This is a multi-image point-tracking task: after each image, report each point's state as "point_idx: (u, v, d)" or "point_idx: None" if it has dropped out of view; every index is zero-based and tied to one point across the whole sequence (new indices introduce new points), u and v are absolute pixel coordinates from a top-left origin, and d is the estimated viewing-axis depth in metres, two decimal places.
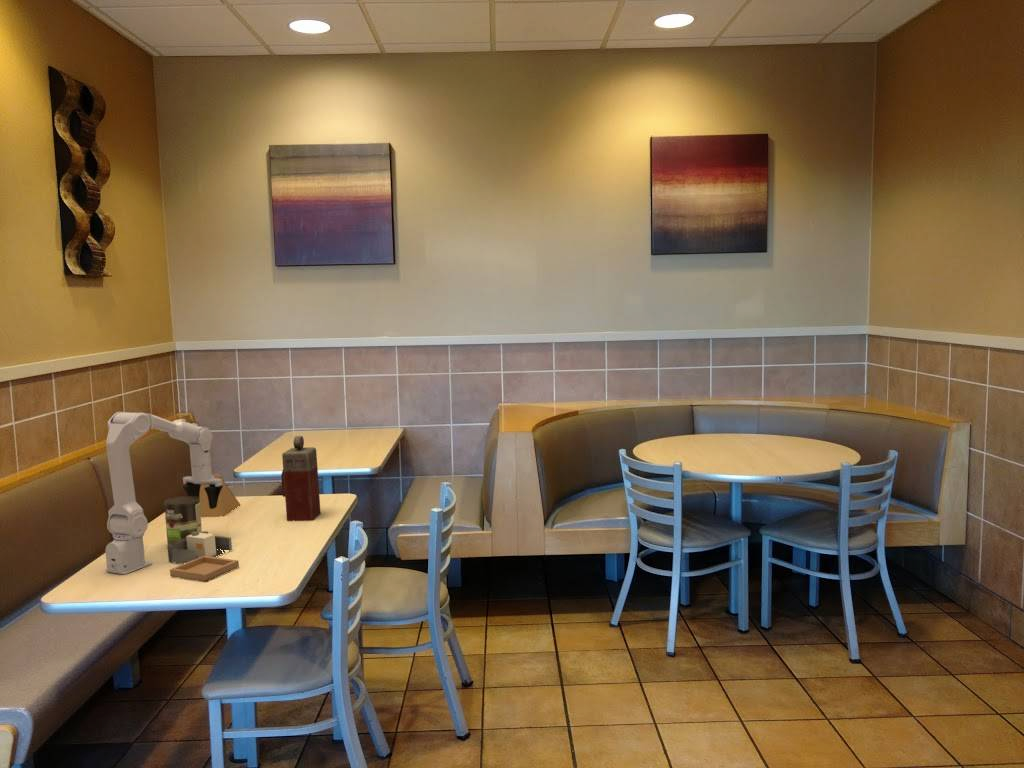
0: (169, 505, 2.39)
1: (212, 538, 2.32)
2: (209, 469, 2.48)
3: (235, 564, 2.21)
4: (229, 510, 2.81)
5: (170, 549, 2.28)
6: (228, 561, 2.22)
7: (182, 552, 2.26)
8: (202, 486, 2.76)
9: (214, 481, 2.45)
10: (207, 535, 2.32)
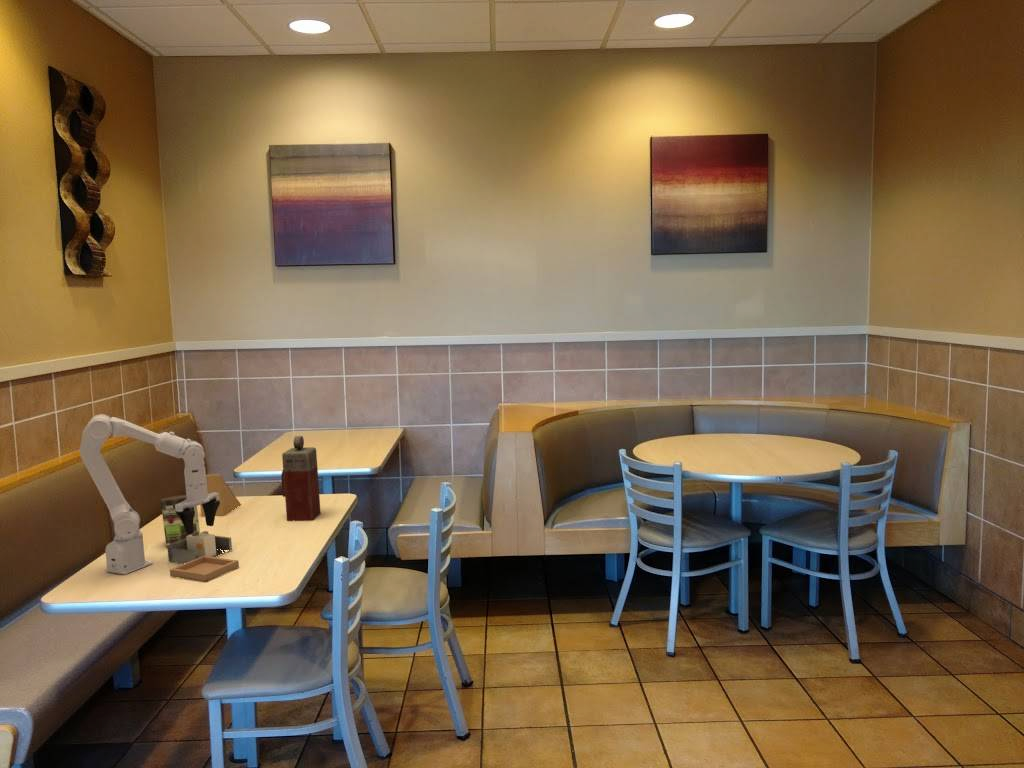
0: (168, 501, 2.41)
1: (212, 538, 2.32)
2: (190, 491, 2.28)
3: (235, 564, 2.21)
4: (230, 510, 2.81)
5: (170, 549, 2.28)
6: (228, 561, 2.22)
7: (182, 552, 2.26)
8: None
9: None
10: (207, 535, 2.32)
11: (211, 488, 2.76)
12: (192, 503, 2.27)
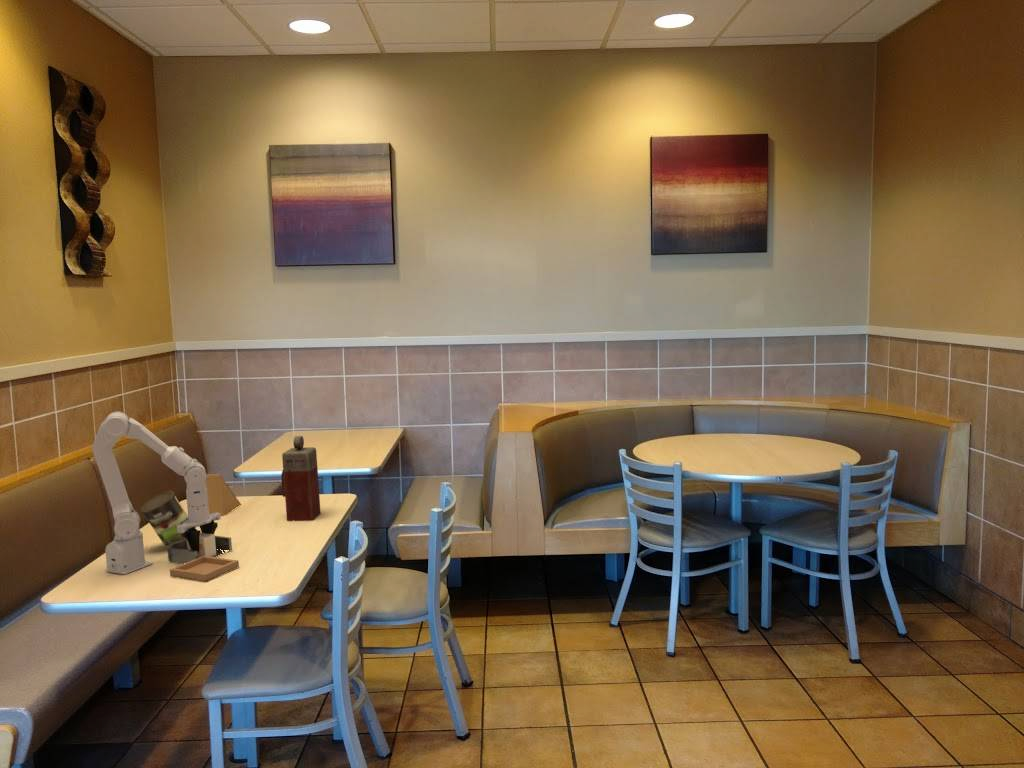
0: (154, 510, 2.35)
1: (212, 538, 2.32)
2: (192, 512, 2.29)
3: (235, 564, 2.21)
4: (230, 510, 2.82)
5: (170, 549, 2.28)
6: (228, 561, 2.22)
7: (182, 552, 2.26)
8: None
9: None
10: (207, 535, 2.32)
11: (211, 487, 2.76)
12: (194, 524, 2.28)
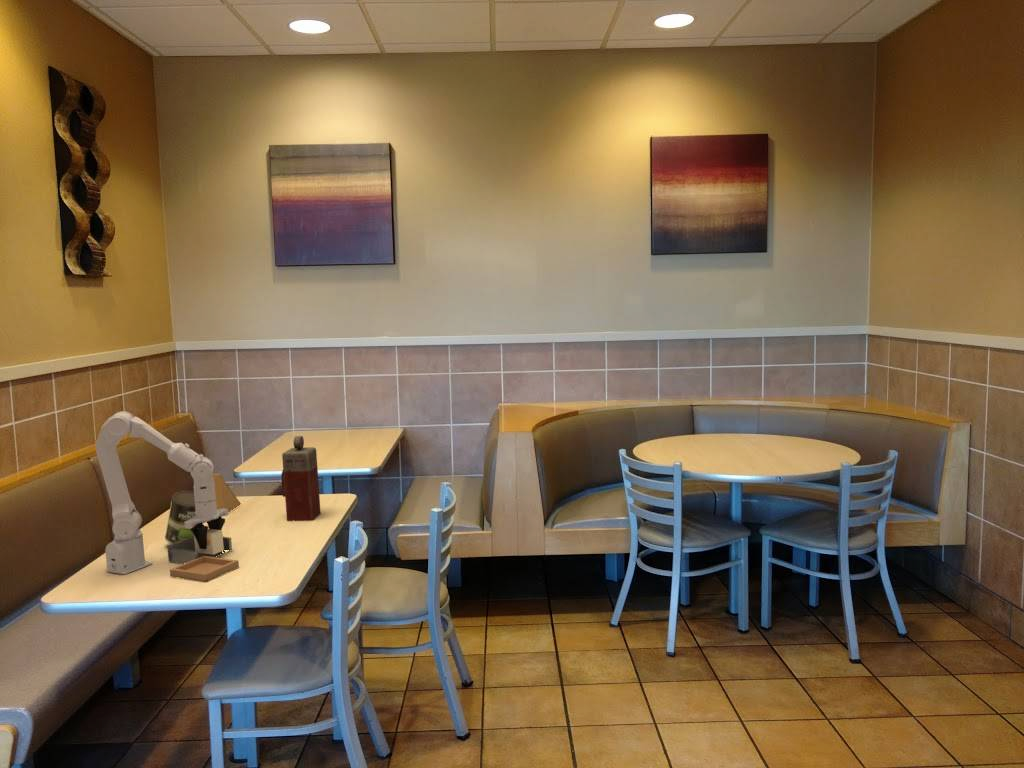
0: (193, 507, 2.38)
1: (220, 534, 2.30)
2: (200, 508, 2.27)
3: (235, 564, 2.21)
4: (230, 509, 2.82)
5: (170, 549, 2.28)
6: (228, 561, 2.22)
7: (182, 552, 2.26)
8: None
9: None
10: (214, 531, 2.31)
11: None
12: (201, 520, 2.26)
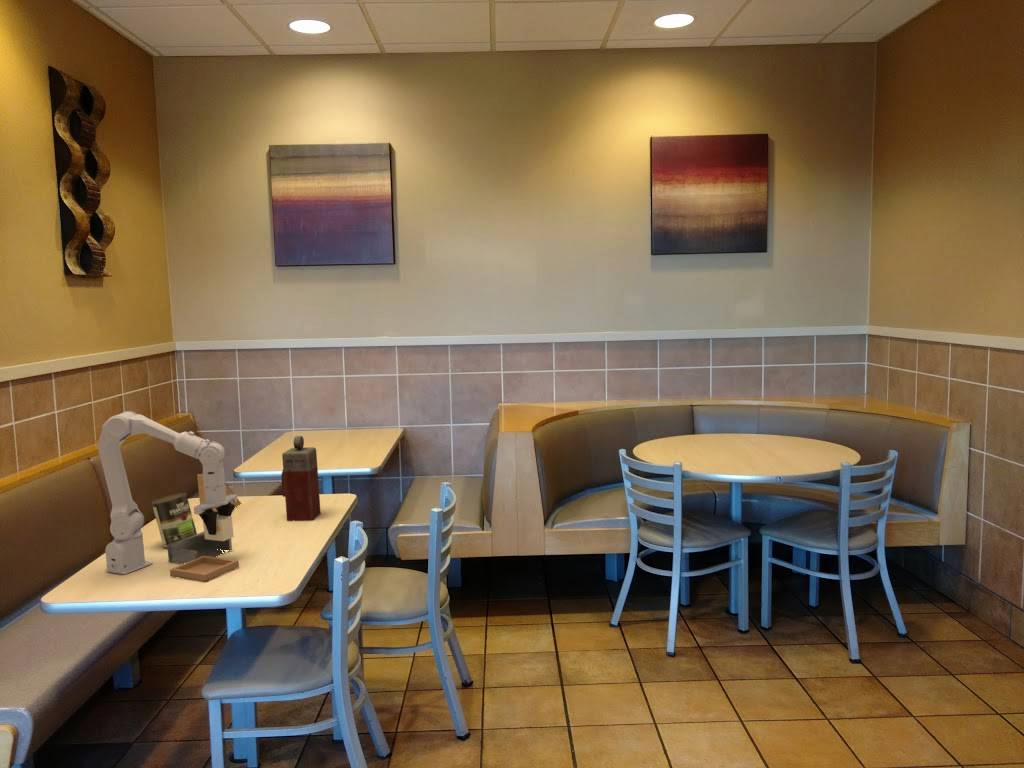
0: (179, 498, 2.41)
1: (229, 520, 2.27)
2: (209, 493, 2.23)
3: (235, 564, 2.21)
4: None
5: (170, 549, 2.28)
6: (228, 561, 2.22)
7: (182, 552, 2.26)
8: (202, 485, 2.78)
9: None
10: (224, 517, 2.27)
11: None
12: (211, 505, 2.22)
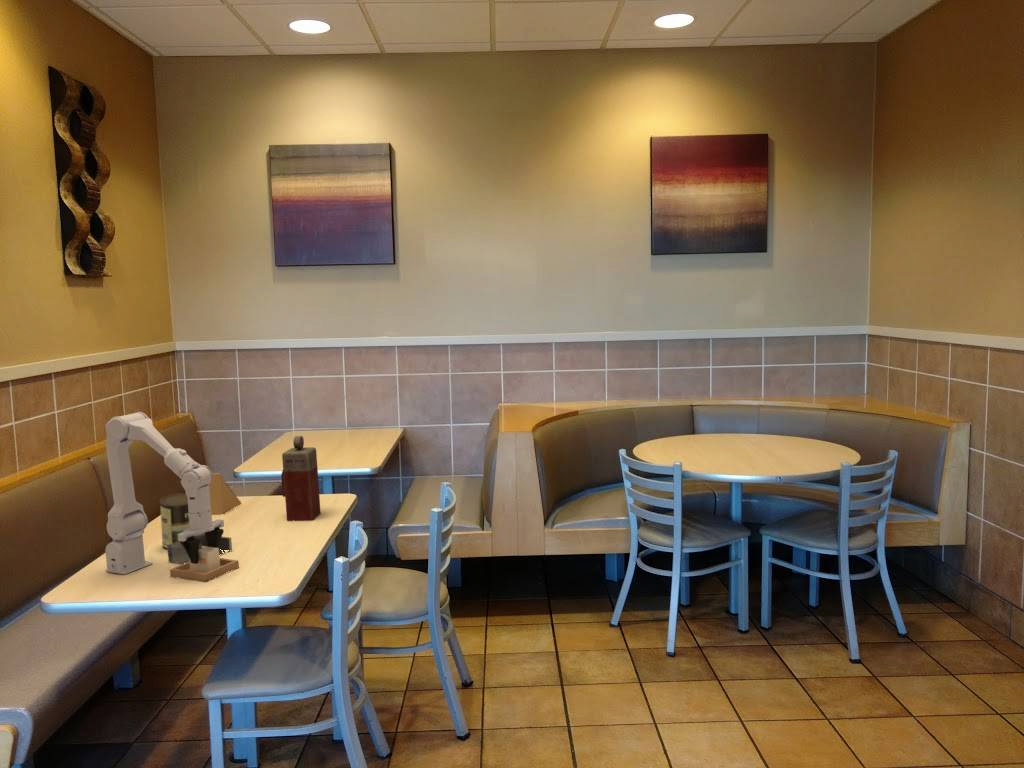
0: None
1: (216, 552, 2.18)
2: (194, 519, 2.15)
3: (235, 564, 2.21)
4: (229, 508, 2.84)
5: (170, 549, 2.28)
6: (228, 561, 2.22)
7: (182, 552, 2.26)
8: None
9: None
10: (211, 549, 2.18)
11: (210, 486, 2.78)
12: (196, 532, 2.14)
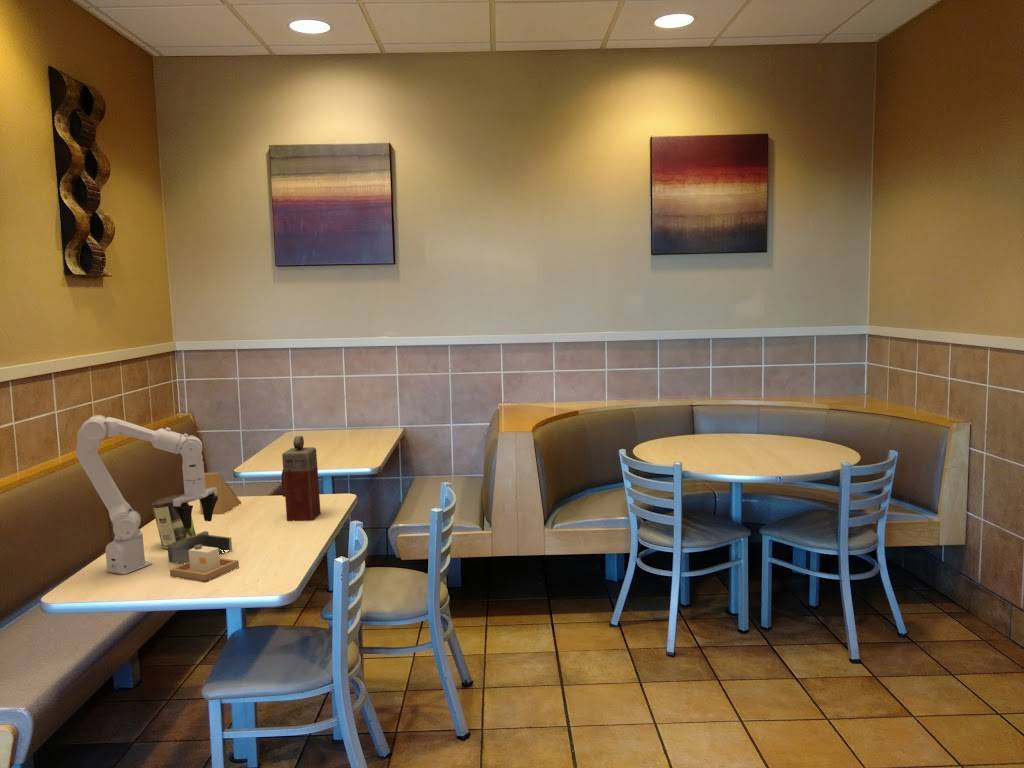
0: None
1: (216, 552, 2.18)
2: (188, 486, 2.27)
3: (235, 564, 2.21)
4: (229, 508, 2.84)
5: (170, 549, 2.28)
6: (228, 561, 2.22)
7: (182, 552, 2.26)
8: None
9: None
10: (211, 549, 2.18)
11: (210, 486, 2.79)
12: (190, 498, 2.26)
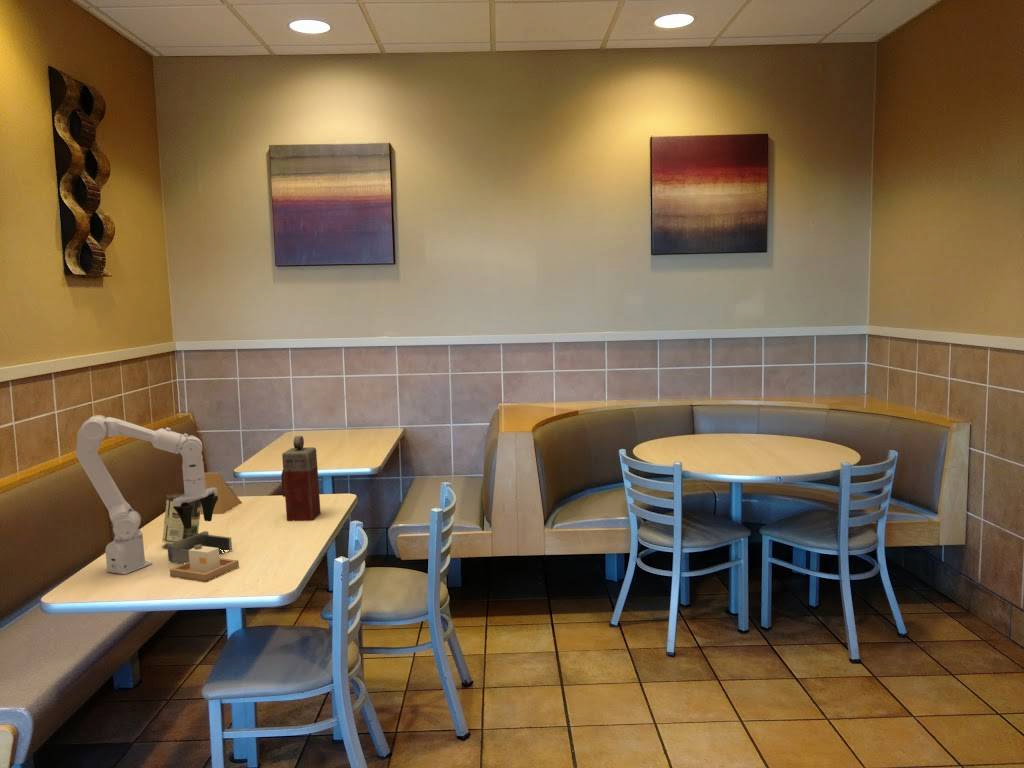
0: None
1: (216, 552, 2.18)
2: (188, 486, 2.27)
3: (235, 564, 2.21)
4: (229, 508, 2.85)
5: (170, 549, 2.28)
6: (228, 561, 2.22)
7: (182, 552, 2.26)
8: None
9: None
10: (211, 549, 2.18)
11: (210, 486, 2.79)
12: (190, 498, 2.26)
